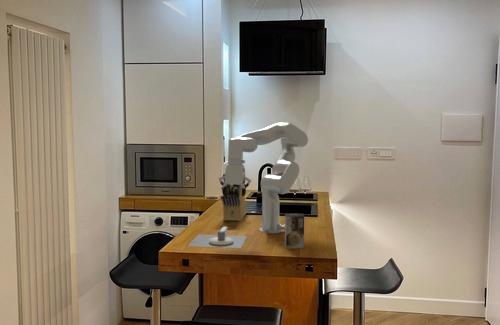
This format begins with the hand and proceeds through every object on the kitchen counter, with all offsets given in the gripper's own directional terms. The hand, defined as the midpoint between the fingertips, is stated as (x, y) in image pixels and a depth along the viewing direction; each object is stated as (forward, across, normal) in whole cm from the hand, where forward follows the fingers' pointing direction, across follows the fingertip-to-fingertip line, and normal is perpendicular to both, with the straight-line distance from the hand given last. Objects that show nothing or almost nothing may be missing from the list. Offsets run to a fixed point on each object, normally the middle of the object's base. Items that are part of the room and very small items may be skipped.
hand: (234, 195), depth 261 cm
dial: (+22, +3, +10) cm, 24 cm away
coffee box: (+23, -33, +4) cm, 40 cm away
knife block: (+22, +16, -52) cm, 59 cm away
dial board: (+24, +4, +10) cm, 26 cm away
